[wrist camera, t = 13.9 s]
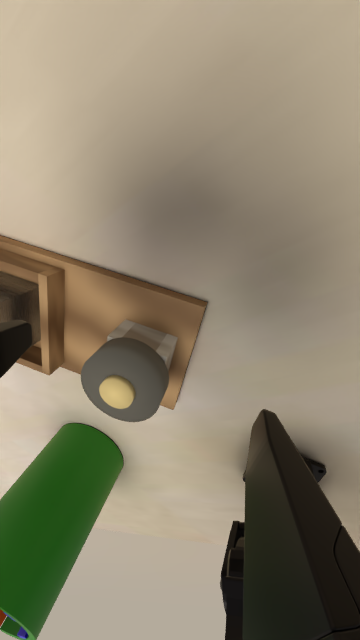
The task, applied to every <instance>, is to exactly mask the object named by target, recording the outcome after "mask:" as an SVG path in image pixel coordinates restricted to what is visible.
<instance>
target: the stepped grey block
mask: <svg viewBox="0 0 360 640" xmlns="http://www.w3.org/2000/svg"><path fill="white" fill-rule="evenodd" d="M14 320H23V321H26V322H28V323H30V324H31V326H32V344H31V346H33V345H34V344H36V343H37V342H39V341H40V340H41V328H40V305H39V284H37V283H34V282H31V281H28V280H25V279H22V278H19V277H16V276H14V275H11V274H8V273H5V272H2V271H0V323H1V322H7V321H14ZM31 346H30V347H31ZM30 347H29V348H30Z"/></svg>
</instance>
